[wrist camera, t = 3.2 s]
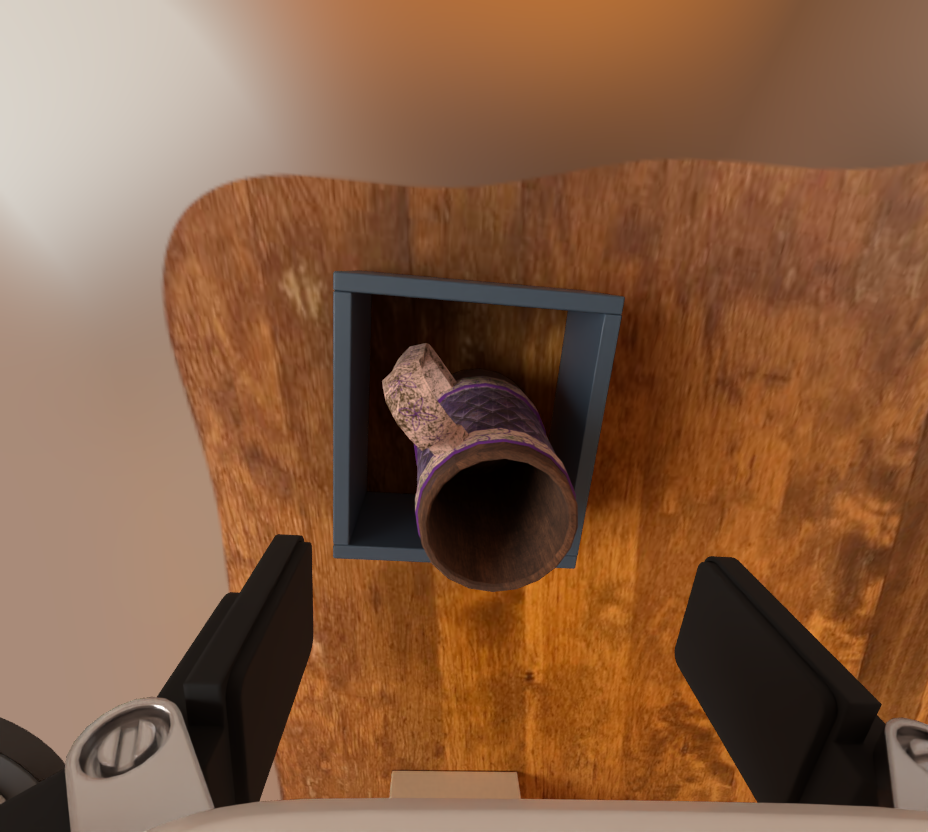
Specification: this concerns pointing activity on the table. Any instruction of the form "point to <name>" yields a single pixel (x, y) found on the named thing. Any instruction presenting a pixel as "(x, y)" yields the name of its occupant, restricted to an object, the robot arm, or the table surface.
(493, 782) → the block
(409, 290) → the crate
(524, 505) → the mug
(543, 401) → the table surface
